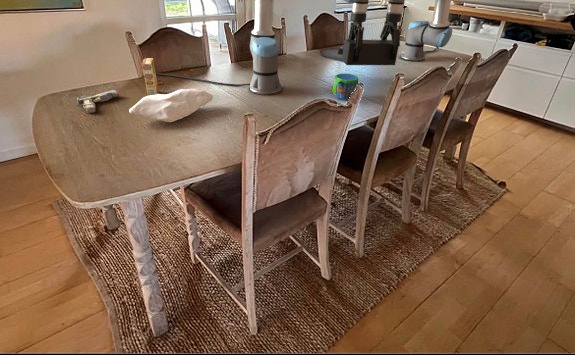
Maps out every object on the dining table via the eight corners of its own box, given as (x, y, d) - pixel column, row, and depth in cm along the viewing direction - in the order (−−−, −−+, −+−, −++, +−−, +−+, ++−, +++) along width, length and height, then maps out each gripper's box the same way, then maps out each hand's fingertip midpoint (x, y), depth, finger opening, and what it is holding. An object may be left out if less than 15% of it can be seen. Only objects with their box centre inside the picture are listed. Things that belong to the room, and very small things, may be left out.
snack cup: (349, 91, 180) (352, 71, 174) (364, 98, 172) (367, 77, 167) (324, 97, 172) (326, 75, 167) (338, 104, 165) (341, 82, 159)
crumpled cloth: (117, 110, 146) (113, 90, 140) (195, 92, 166) (194, 73, 160) (143, 139, 134) (140, 118, 128) (223, 116, 154) (224, 96, 148)
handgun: (128, 97, 156) (111, 87, 164) (86, 107, 144) (70, 97, 152) (129, 103, 157) (113, 94, 165) (88, 114, 146) (72, 103, 154)
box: (346, 65, 188) (349, 43, 182) (341, 60, 195) (344, 39, 189) (394, 65, 192) (399, 43, 186) (388, 60, 199) (392, 40, 193)
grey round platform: (383, 57, 237) (385, 42, 233) (344, 64, 220) (345, 48, 215) (347, 49, 262) (348, 36, 257) (309, 54, 245) (309, 40, 240)
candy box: (157, 97, 164) (152, 63, 155) (147, 98, 163) (141, 63, 155) (158, 91, 171) (153, 57, 163) (149, 91, 170) (143, 58, 162)
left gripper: (374, 16, 170) (366, 65, 183) (359, 9, 188) (352, 54, 200) (358, 16, 169) (352, 64, 181) (345, 9, 187) (339, 54, 199)
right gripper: (412, 17, 172) (403, 62, 183) (391, 8, 192) (384, 50, 204) (397, 17, 171) (389, 62, 182) (378, 8, 191) (371, 50, 203)
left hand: (352, 59), depth 191 cm, fingers closed on box, 9 cm apart
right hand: (386, 56), depth 193 cm, fingers open, 13 cm apart
